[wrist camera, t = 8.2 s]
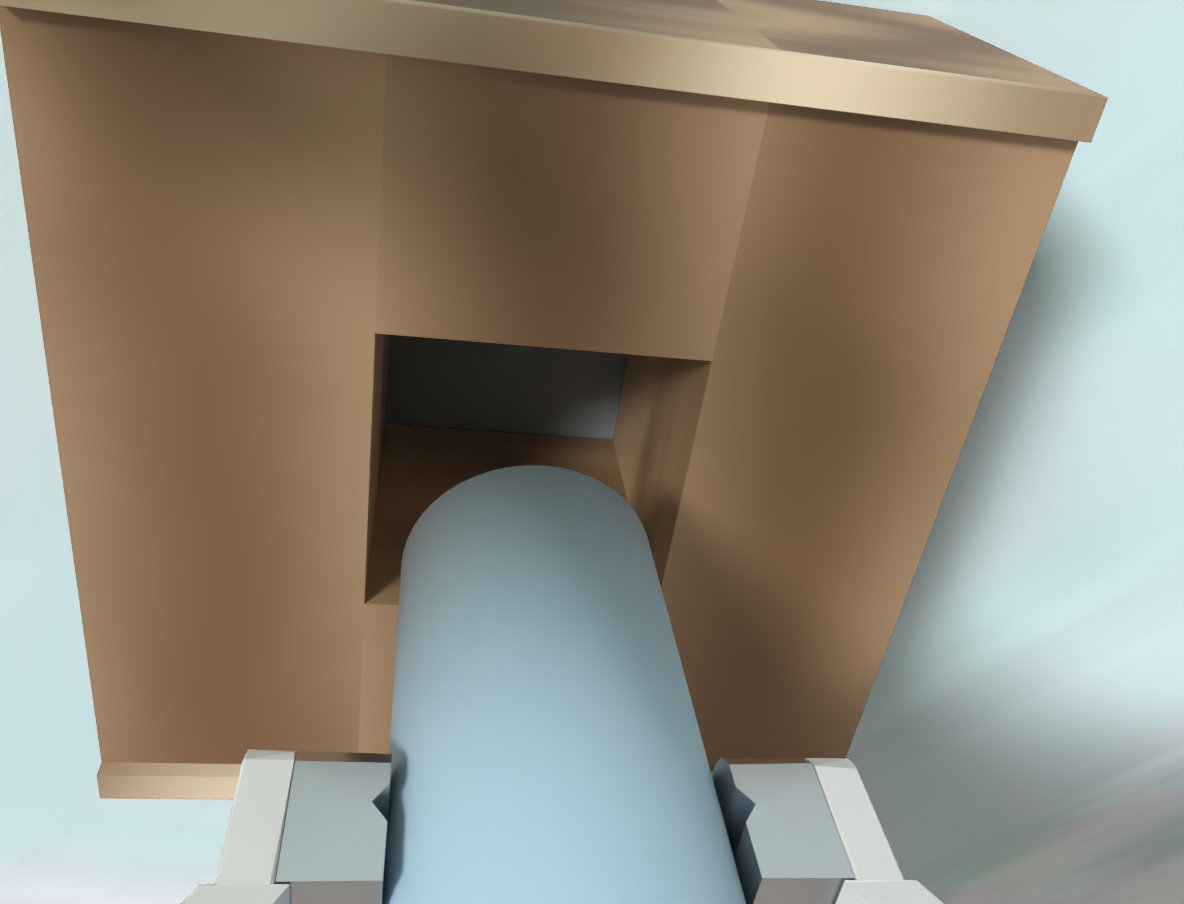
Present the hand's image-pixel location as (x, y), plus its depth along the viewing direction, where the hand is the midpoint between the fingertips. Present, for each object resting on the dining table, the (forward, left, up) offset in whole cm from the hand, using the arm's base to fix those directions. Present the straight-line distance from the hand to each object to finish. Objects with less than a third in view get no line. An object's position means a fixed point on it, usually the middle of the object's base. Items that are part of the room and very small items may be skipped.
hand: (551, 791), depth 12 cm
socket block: (0, 0, -12) cm, 12 cm away
